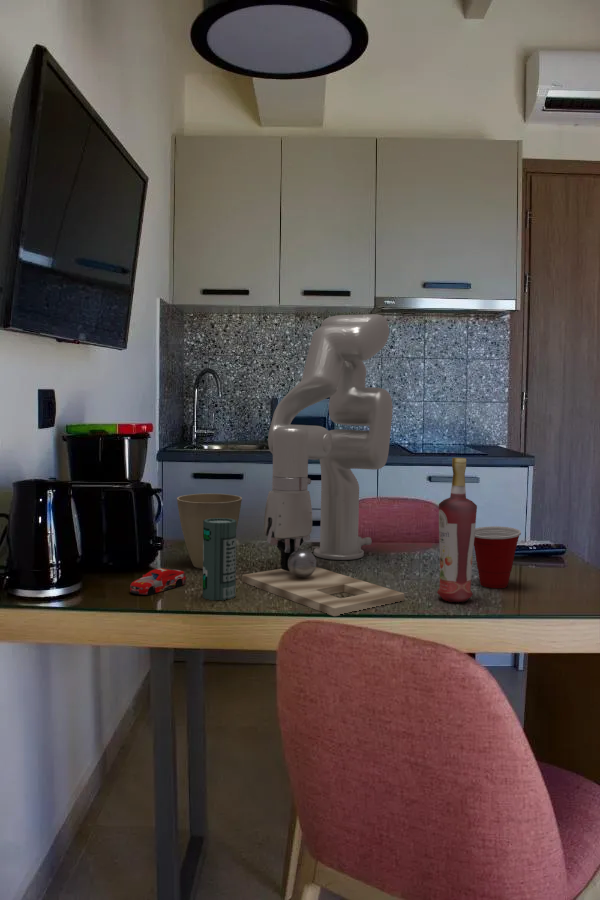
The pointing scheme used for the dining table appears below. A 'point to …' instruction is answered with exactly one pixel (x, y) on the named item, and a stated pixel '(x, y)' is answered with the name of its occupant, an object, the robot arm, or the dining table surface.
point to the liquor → (456, 538)
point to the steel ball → (301, 563)
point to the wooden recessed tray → (324, 590)
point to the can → (219, 558)
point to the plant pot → (204, 518)
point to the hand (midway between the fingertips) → (288, 569)
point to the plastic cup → (495, 554)
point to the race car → (158, 581)
